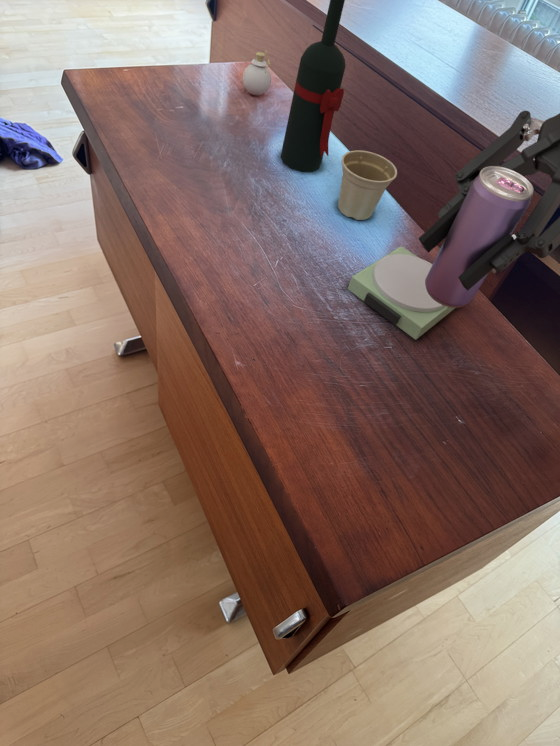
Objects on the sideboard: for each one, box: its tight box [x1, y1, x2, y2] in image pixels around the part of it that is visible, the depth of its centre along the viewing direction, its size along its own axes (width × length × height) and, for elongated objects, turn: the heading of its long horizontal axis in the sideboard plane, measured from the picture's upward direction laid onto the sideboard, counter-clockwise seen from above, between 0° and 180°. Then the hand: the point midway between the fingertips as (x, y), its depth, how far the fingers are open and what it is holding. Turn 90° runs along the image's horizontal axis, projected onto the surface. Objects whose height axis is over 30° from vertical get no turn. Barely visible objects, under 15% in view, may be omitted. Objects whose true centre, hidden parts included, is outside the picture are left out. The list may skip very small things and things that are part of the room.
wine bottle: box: [279, 0, 347, 173], centre depth 95 cm, size 8×10×30 cm
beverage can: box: [425, 165, 535, 309], centre depth 62 cm, size 6×6×15 cm
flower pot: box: [337, 149, 398, 221], centre depth 96 cm, size 9×9×9 cm
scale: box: [347, 245, 456, 340], centre depth 86 cm, size 13×14×3 cm
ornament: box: [242, 48, 272, 96], centre depth 117 cm, size 6×7×10 cm
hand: (443, 264), depth 62 cm, fingers closed on beverage can, 6 cm apart
